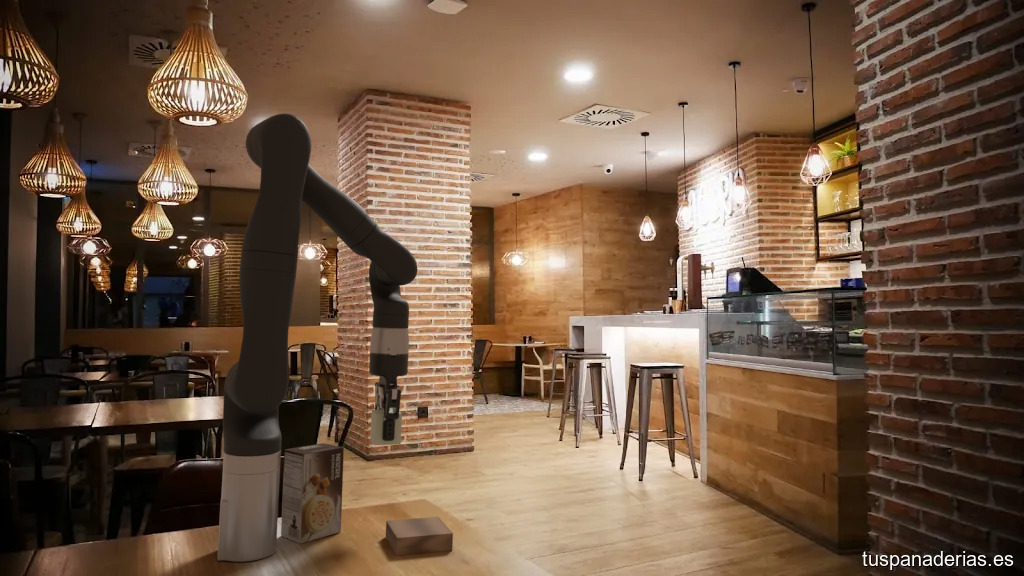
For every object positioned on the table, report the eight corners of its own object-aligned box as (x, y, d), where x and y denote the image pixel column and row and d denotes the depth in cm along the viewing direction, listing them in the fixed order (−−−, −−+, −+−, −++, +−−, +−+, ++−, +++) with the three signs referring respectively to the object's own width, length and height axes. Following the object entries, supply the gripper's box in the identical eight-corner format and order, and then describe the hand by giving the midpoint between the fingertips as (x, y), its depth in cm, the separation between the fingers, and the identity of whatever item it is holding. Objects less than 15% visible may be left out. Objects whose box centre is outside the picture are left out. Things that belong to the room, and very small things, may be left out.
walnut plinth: (396, 555, 115) (397, 537, 115) (385, 537, 125) (386, 520, 125) (452, 550, 119) (453, 533, 119) (437, 532, 128) (438, 516, 128)
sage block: (374, 445, 128) (376, 413, 128) (370, 440, 133) (371, 410, 133) (400, 444, 130) (402, 413, 130) (395, 439, 134) (396, 409, 135)
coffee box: (320, 525, 130) (324, 442, 131) (341, 532, 126) (345, 447, 127) (279, 536, 123) (283, 448, 123) (300, 544, 119) (304, 453, 120)
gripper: (364, 348, 137) (360, 432, 136) (377, 353, 124) (372, 445, 123) (400, 349, 140) (396, 431, 139) (416, 353, 127) (412, 444, 126)
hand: (385, 437), depth 131 cm, fingers closed on sage block, 5 cm apart
